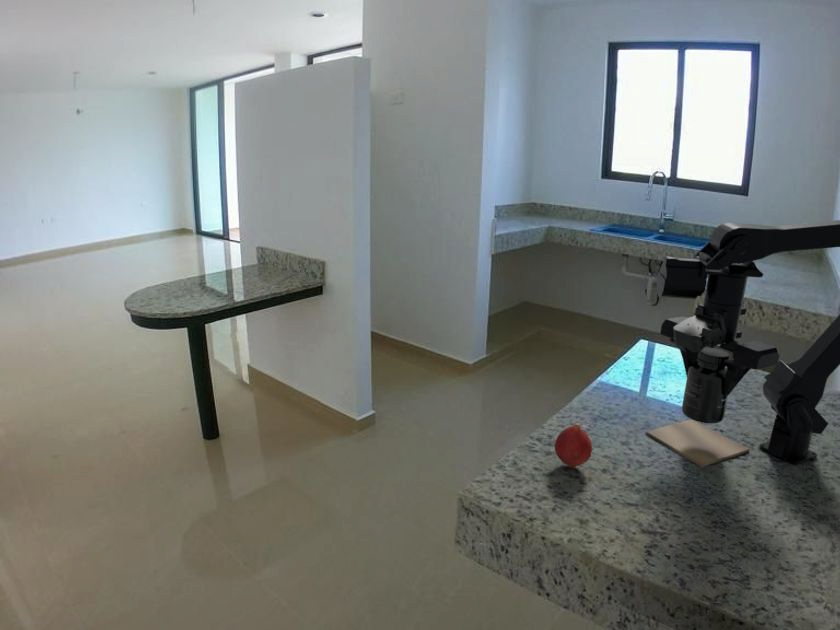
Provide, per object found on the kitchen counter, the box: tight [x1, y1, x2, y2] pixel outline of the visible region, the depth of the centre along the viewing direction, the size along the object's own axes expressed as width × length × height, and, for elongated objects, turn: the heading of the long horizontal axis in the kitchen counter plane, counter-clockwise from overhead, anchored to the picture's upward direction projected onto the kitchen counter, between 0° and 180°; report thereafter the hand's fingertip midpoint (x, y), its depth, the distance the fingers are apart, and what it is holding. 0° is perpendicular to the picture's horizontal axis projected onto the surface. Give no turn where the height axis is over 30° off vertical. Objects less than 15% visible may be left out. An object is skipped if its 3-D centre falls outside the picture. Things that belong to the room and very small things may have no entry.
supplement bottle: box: [681, 347, 730, 425], centre depth 99 cm, size 7×7×12 cm
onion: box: [554, 422, 593, 469], centre depth 93 cm, size 6×6×8 cm
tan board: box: [645, 418, 750, 468], centre depth 102 cm, size 12×12×1 cm
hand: (707, 387), depth 99 cm, fingers closed on supplement bottle, 7 cm apart
